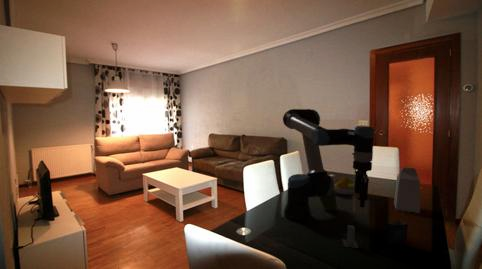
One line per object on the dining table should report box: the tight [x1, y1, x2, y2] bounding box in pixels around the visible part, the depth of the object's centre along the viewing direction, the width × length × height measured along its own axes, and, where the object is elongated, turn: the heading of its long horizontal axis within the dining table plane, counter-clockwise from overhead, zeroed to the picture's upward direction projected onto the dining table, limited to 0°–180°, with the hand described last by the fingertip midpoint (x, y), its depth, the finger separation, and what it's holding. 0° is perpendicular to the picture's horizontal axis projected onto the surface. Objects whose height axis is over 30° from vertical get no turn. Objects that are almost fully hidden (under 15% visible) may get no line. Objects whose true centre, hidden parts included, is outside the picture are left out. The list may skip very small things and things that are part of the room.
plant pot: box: [317, 190, 338, 212], centre depth 144 cm, size 12×12×11 cm
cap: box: [351, 193, 369, 215], centre depth 107 cm, size 5×5×8 cm
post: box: [341, 224, 360, 250], centre depth 105 cm, size 6×6×8 cm
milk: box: [393, 166, 421, 214], centre depth 145 cm, size 12×12×26 cm
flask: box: [386, 218, 409, 245], centre depth 107 cm, size 9×3×11 cm, turn 95°
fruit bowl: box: [333, 175, 355, 196], centre depth 176 cm, size 28×27×11 cm
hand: (359, 210), depth 107 cm, fingers closed on cap, 5 cm apart
